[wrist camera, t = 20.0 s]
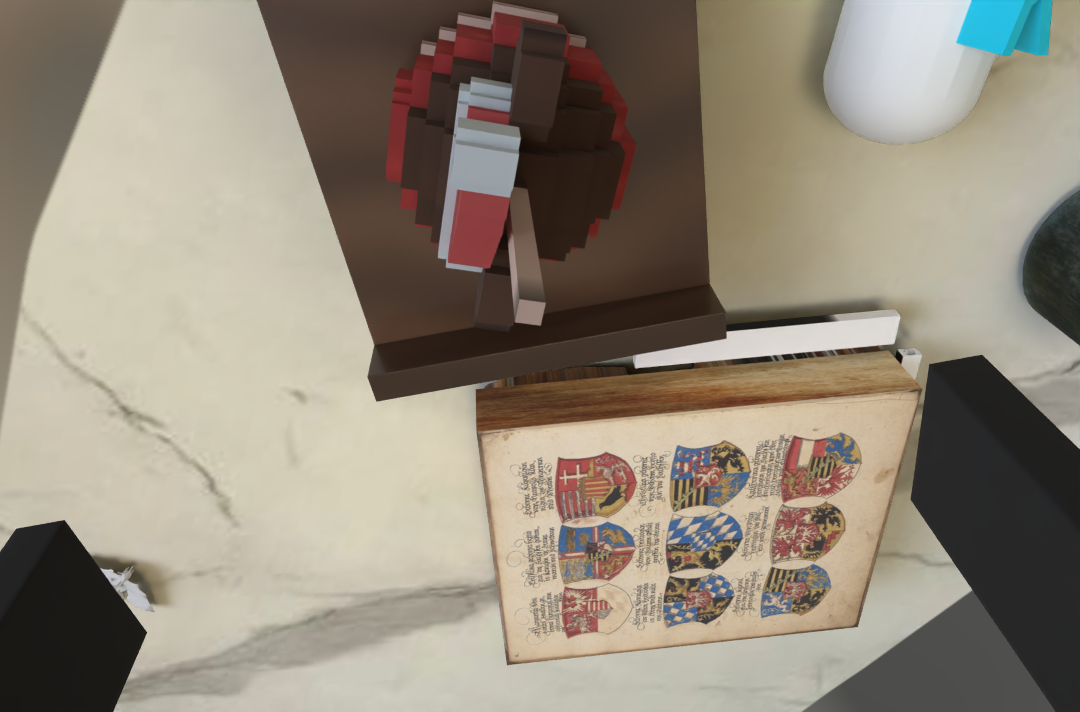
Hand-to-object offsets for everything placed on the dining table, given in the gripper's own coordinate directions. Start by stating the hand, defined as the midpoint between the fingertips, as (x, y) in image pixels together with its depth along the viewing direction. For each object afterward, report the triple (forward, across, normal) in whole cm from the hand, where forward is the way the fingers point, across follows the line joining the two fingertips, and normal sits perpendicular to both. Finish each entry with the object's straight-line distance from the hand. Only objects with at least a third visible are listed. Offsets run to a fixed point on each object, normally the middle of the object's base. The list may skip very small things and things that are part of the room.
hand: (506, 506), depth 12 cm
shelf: (+32, 0, -3) cm, 32 cm away
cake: (+26, +1, -1) cm, 26 cm away
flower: (+32, -36, -31) cm, 57 cm away
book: (+32, +8, -29) cm, 44 cm away
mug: (+32, +22, -1) cm, 39 cm away
